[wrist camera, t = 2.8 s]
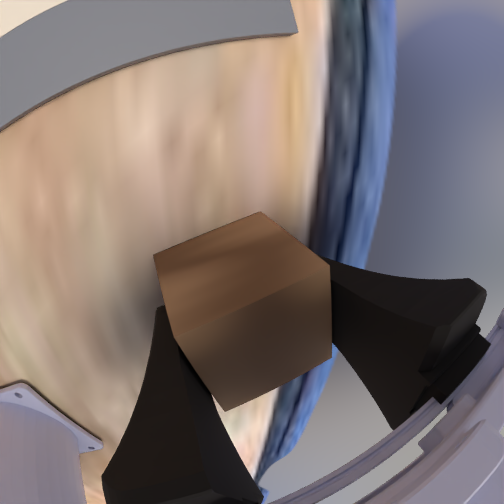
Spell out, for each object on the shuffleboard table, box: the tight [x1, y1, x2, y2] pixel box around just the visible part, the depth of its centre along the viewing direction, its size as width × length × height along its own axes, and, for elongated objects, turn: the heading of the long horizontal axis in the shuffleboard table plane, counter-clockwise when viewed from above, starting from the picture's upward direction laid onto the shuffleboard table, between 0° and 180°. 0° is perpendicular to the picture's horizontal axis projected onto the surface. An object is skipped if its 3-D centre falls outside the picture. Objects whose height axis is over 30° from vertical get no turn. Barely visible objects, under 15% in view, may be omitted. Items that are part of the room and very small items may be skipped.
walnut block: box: [153, 212, 332, 412], centre depth 10 cm, size 4×4×4 cm
